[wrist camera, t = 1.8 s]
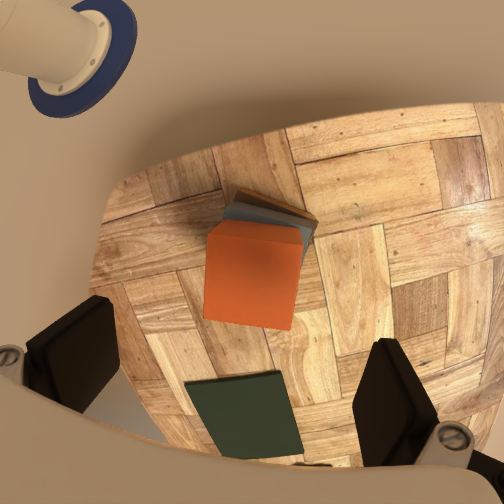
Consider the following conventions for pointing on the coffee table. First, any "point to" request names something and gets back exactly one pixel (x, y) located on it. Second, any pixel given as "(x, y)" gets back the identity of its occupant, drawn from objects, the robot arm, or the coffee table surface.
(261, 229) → the top cube
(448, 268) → the coffee table surface
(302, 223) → the middle block
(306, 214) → the bottom block
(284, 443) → the mat
